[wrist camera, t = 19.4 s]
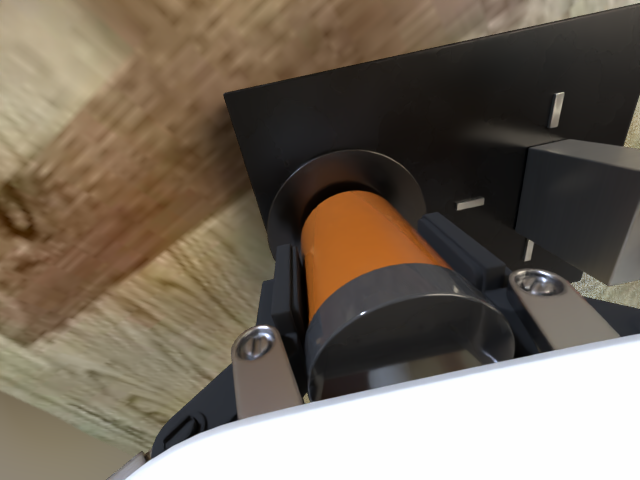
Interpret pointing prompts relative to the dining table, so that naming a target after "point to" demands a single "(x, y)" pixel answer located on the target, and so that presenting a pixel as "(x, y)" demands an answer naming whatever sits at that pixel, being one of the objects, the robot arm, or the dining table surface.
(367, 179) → the disc
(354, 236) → the spice bottle
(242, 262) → the dining table surface
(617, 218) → the hob knob
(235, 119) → the hob
